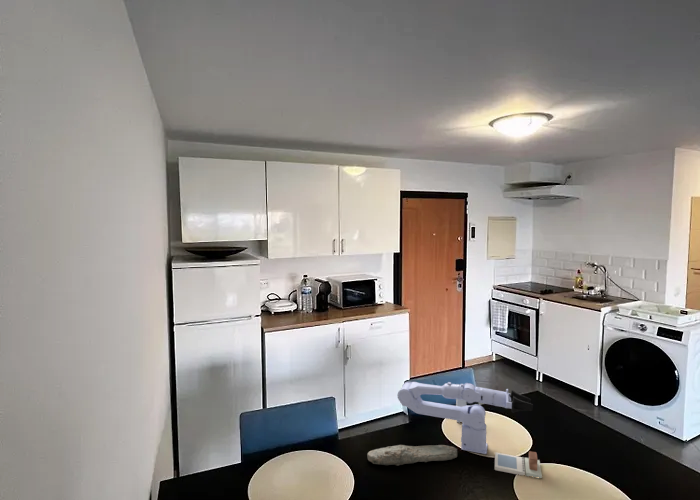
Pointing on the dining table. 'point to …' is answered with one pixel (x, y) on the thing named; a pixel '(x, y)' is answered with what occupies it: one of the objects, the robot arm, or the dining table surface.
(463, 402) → the skincare box
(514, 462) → the ticket board
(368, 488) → the dining table surface
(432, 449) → the long grey stone
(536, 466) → the stub
